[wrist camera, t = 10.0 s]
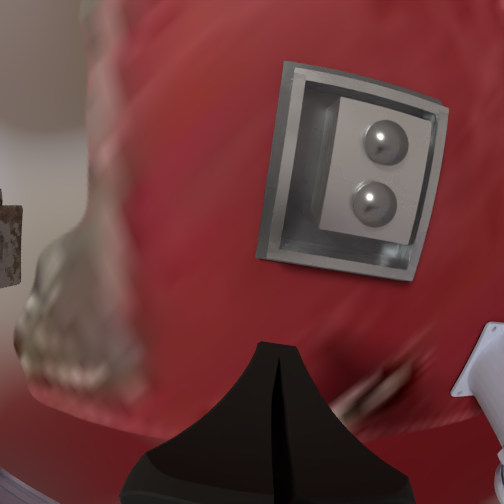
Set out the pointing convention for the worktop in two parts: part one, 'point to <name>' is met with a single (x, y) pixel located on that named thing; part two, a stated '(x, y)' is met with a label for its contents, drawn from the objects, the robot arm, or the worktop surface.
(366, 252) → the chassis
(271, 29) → the worktop surface
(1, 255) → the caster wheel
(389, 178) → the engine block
